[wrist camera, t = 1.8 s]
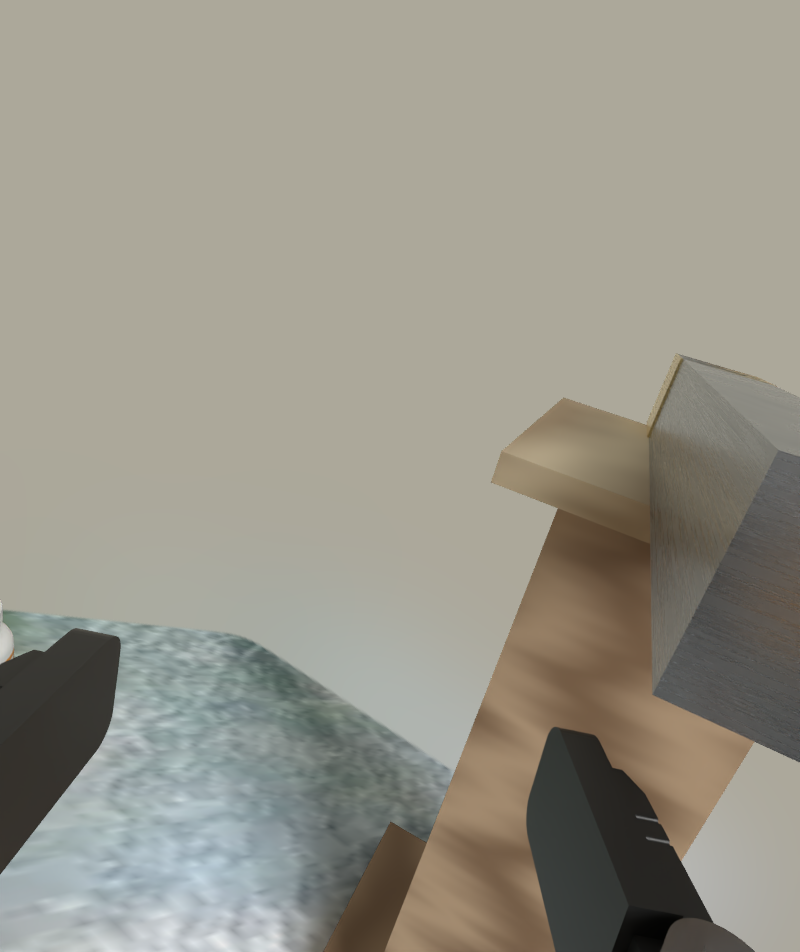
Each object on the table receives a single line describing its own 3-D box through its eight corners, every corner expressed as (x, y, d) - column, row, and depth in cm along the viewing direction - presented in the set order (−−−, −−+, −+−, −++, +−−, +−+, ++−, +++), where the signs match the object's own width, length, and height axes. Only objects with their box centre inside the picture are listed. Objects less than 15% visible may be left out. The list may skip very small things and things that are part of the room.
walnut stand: (272, 1057, 28) (469, 439, 17) (388, 831, 41) (544, 391, 30) (553, 1273, 24) (1039, 649, 13) (585, 949, 37) (849, 491, 26)
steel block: (644, 691, 8) (769, 447, 7) (646, 422, 29) (676, 353, 28) (971, 841, 7) (1190, 582, 6) (724, 447, 28) (758, 377, 27)
